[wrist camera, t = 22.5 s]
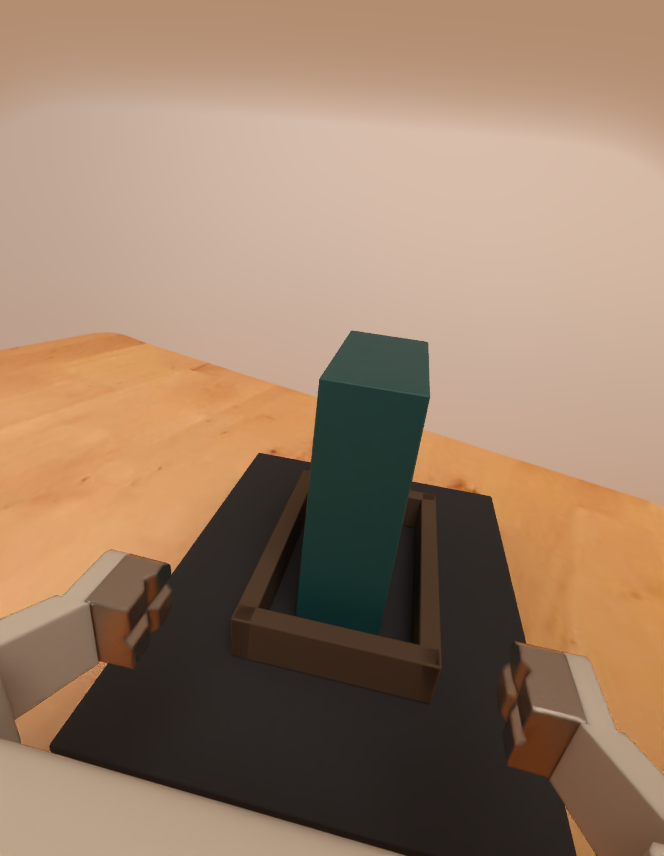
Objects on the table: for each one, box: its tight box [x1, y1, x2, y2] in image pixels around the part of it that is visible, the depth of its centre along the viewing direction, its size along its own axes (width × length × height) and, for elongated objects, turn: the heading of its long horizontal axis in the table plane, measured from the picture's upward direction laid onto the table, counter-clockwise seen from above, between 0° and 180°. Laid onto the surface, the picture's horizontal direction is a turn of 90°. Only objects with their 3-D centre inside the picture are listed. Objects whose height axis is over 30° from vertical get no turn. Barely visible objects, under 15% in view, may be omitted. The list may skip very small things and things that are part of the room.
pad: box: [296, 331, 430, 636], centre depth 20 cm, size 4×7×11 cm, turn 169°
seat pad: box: [50, 453, 577, 856], centre depth 22 cm, size 16×20×4 cm
